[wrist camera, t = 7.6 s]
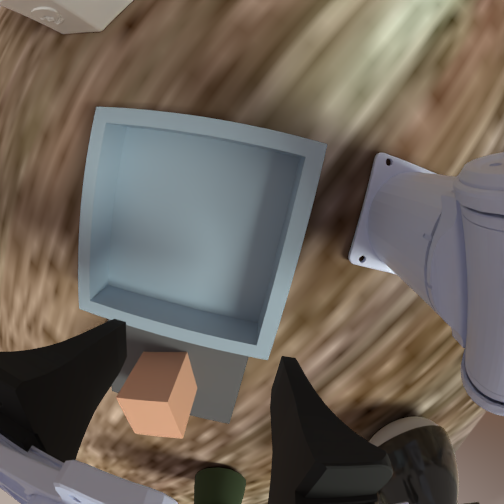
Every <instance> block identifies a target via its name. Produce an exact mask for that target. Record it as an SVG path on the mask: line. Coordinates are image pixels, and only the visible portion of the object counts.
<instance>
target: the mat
mask: <svg viewBox="0 0 504 504" xmlns="http://www.w3.org/2000/svg"><path fill="white" fill-rule="evenodd" d="M108 321H110V319H108ZM126 341H127V358H126V360H125V362H124V365H123V367H122V369H121V371H120V373H119V374H118V376H117V377H116V379H115V381H114V382H113V384H112V391H114V392H117V393H119V392H120V390H121V388H122V387H123V385H124V383H125V381H126V380H127V378H128V376H129V375H130V373H131V371H132V370H133V368H134V366H135V365H136V363H137V361H138V360H139V358H140V356H141V355H142V353H143V352H187V353H188V357H189V360H190V364H191V367H192V371H193V374H194V378H195V381H196V385H197V391H196V395H195V398H194V402H193V405H192V408H191V412H190V415H192V416H196V417H200V418H205V419H209V420H213V421H218V422H223V423H228V424H229V423H230V419H231V416H232V412H233V409H234V406H235V402H236V399H237V395H238V392H239V388H240V385H241V381H242V378H243V374H244V371H245V367H246V364H247V360H248V357H249V356H244V355H240V354H235V353H230V352H226V351H221V350H217V349H213V348H208V347H204V346H200V345H196V344H192V343H188V342H184V341H180V340H177V339H173V338H169V337H166V336H162V335H159V334H155V333H152V332H148V331H145V330H142V329H138V328H135V327H132V326H129V325H126Z"/></svg>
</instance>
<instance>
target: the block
mask: <svg viewBox="0 0 504 504" xmlns="http://www.w3.org/2000/svg"><path fill="white" fill-rule="evenodd" d="M196 391H197V385H196V381H195V378H194V374H193V371H192V367H191V364H190V360H189V357H188V353H187V352H143V353H142V355H141V356H140V358H139V360H138V361H137V363H136V365H135V366H134V368H133V370H132V371H131V373H130V375H129V376H128V378H127V380H126V381H125V383H124V385H123V387H122V388H121V390H120V392H119V393H118V395H117V397H116V398H117V400H118V402H119V404H120V406H121V408H122V410H123V412H124V414H125V416H126V418H127V420H128V422H129V423H130V425H131V427H132V429H133V431H134V432H135V433H136V434H144V435H152V436H161V437H171V438H183V436H184V433H185V429H186V426H187V422H188V419H189V415H190V412H191V408H192V405H193V402H194V398H195V395H196Z"/></svg>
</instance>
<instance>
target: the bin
mask: <svg viewBox="0 0 504 504" xmlns="http://www.w3.org/2000/svg"><path fill="white" fill-rule="evenodd" d="M326 148H327V144H325V143H322V142H318V141H314V140H311V139H307V138H303V137H299V136H295V135H291V134H287V133H283V132H279V131H275V130H270V129H266V128H261V127H256V126H252V125H247V124H242V123H236V122H231V121H225V120H220V119H214V118H208V117H201V116H194V115H187V114H180V113H172V112H163V111H153V110H143V109H131V108H115V107H96V111H95V116H94V120H93V125H92V130H91V135H90V141H89V147H88V153H87V159H86V166H85V173H84V181H83V189H82V199H81V211H80V225H79V247H78V292H79V309H81V310H84V311H87V312H90V313H93V314H95V315H98V316H101V317H104V318H107V319H110V320H113V319H117V320H121V321H124V322H126V325H129V326H132V327H135V328H138V329H142V330H145V331H148V332H152V333H155V334H159V335H162V336H166V337H169V338H173V339H177V340H180V341H184V342H188V343H192V344H196V345H200V346H204V347H208V348H213V349H217V350H221V351H226V352H230V353H235V354H240V355H244V356H249V357H254V358H259V359H265V360H268V358H269V355H270V351H271V348H272V345H273V342H274V339H275V336H276V332H277V329H278V326H279V323H280V320H281V316H282V313H283V310H284V306H285V303H286V300H287V296H288V293H289V289H290V286H291V283H292V279H293V276H294V272H295V269H296V265H297V262H298V258H299V254H300V251H301V247H302V243H303V240H304V236H305V232H306V229H307V225H308V221H309V217H310V213H311V210H312V206H313V202H314V198H315V194H316V190H317V186H318V182H319V178H320V174H321V170H322V165H323V161H324V157H325V153H326Z"/></svg>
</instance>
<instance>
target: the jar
mask: <svg viewBox="0 0 504 504" xmlns="http://www.w3.org/2000/svg"><path fill="white" fill-rule="evenodd" d="M132 1H134V0H0V6H3V7H5V8H8V9H10V10H13V11H15V12H17V13H19V14H22V15H24V16H26V17H28V18H31V19H33V20H35V21H37V22H39V23H41V24H43V25H45V26H47V27H49V28H51V29H54V30H56V31H57V32H59V33H61V34H71V33H83V32H100V31H103V30H104V29H105V28H106V27H107V25H108V24H109V23H110V22H111V21H112V20H113V19H114V18H115V17H116V16H117V15H119V14H120V13H121V12H122V11H123V10H124V9H125V8H126V7H127V6H128V5H129V4H130V3H131V2H132Z"/></svg>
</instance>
